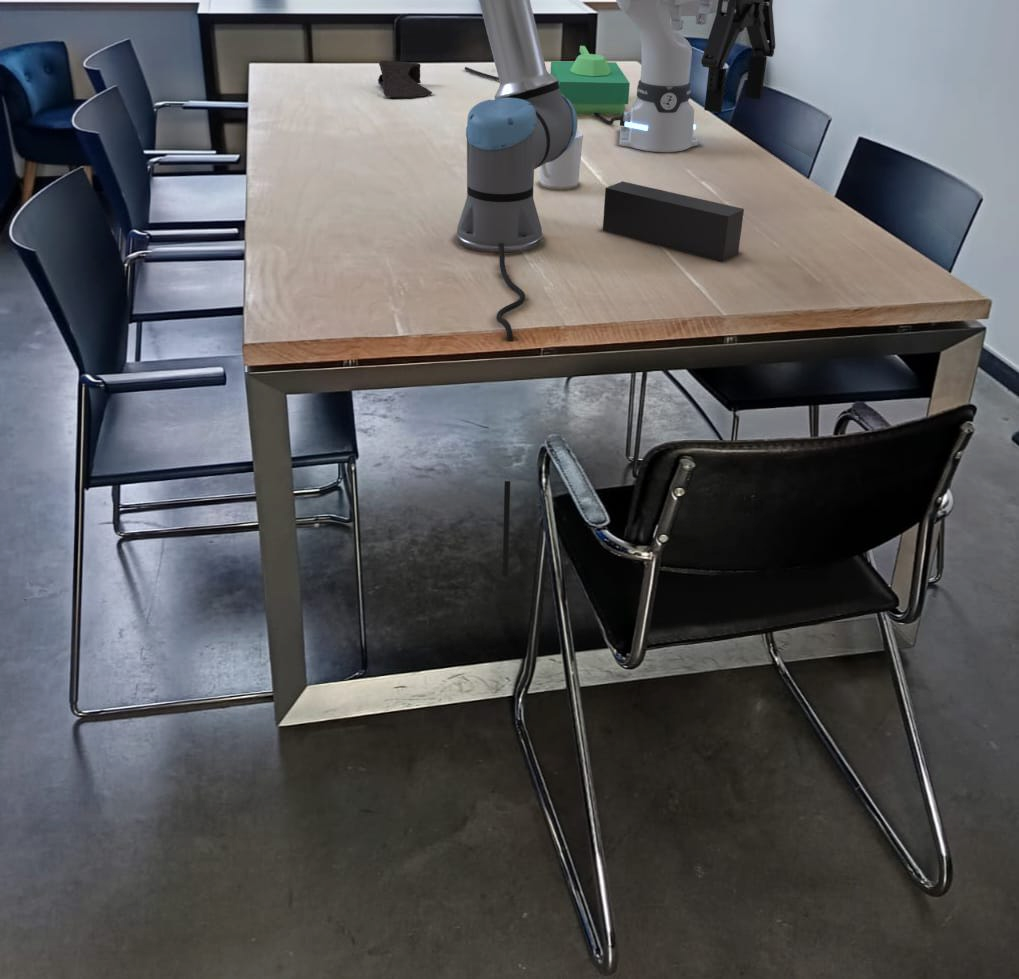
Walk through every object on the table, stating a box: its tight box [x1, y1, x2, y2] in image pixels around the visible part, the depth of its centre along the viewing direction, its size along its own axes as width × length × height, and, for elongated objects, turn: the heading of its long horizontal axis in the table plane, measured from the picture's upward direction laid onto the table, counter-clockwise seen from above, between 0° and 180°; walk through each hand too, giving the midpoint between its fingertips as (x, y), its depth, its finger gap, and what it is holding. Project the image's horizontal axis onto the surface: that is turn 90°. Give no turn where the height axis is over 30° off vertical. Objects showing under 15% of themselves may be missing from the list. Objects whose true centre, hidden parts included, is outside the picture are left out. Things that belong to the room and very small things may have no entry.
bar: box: [602, 180, 745, 262], centre depth 195 cm, size 25×6×8 cm, turn 52°
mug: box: [539, 129, 584, 190], centre depth 223 cm, size 11×9×10 cm
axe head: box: [377, 59, 433, 99], centre depth 299 cm, size 18×8×15 cm
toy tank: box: [549, 45, 631, 116], centre depth 289 cm, size 18×12×35 cm
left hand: (733, 104), depth 179 cm, fingers open, 13 cm apart
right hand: (688, 27), depth 208 cm, fingers open, 8 cm apart
